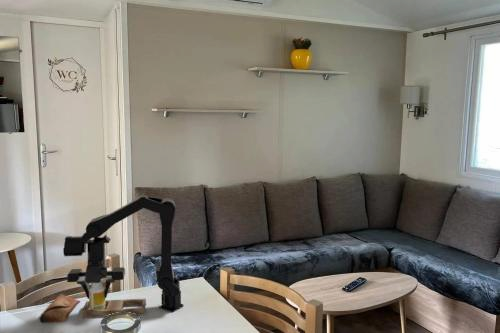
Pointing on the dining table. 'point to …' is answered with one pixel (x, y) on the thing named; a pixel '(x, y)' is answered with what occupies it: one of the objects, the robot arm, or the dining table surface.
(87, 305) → the walnut dock
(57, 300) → the sunglasses case
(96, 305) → the supplement bottle
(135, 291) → the dining table surface
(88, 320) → the dining table surface
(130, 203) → the robot arm
